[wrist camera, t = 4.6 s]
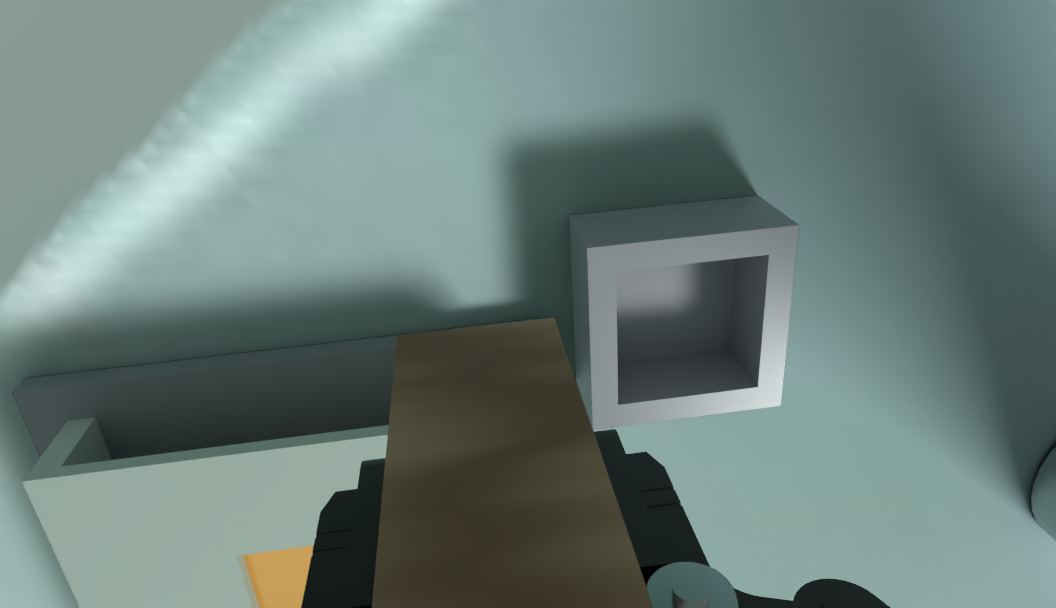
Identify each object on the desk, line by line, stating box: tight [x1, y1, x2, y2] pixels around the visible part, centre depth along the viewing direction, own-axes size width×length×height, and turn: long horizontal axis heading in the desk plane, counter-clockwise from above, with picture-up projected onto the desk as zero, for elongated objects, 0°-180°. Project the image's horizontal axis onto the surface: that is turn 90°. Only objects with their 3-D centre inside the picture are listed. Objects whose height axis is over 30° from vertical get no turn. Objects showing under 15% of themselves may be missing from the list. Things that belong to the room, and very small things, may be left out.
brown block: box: [372, 317, 653, 608], centre depth 13 cm, size 4×4×9 cm
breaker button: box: [243, 545, 314, 608], centre depth 30 cm, size 6×6×1 cm
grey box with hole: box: [12, 318, 543, 608], centre depth 31 cm, size 20×17×5 cm
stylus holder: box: [569, 195, 799, 430], centre depth 29 cm, size 8×8×4 cm
